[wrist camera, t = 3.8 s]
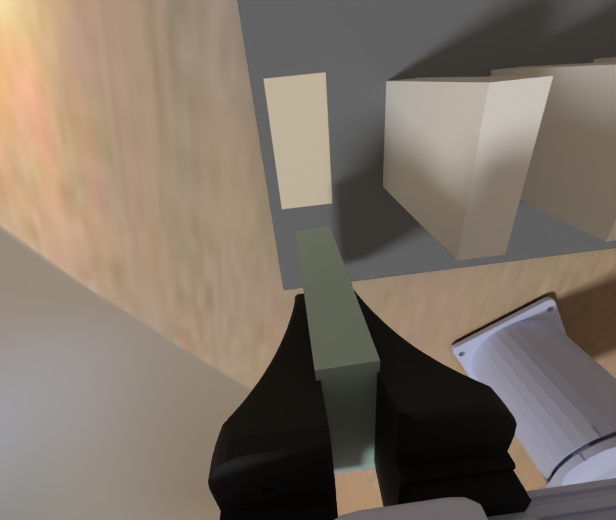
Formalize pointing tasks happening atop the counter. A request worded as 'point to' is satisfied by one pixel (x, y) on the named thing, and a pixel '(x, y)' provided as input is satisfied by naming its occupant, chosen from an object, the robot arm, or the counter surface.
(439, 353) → the counter surface
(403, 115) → the domino
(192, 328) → the counter surface
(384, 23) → the mat
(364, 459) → the domino
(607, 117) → the domino
